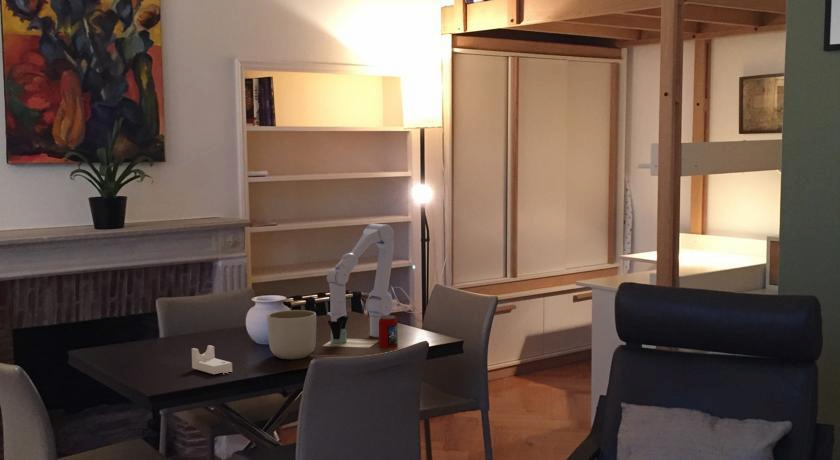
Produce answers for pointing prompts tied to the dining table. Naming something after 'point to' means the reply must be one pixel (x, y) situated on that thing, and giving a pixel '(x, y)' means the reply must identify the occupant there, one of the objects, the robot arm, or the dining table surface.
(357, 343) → the stud plate
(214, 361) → the bracket
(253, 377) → the dining table surface
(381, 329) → the beverage can
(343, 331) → the cap
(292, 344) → the planter
